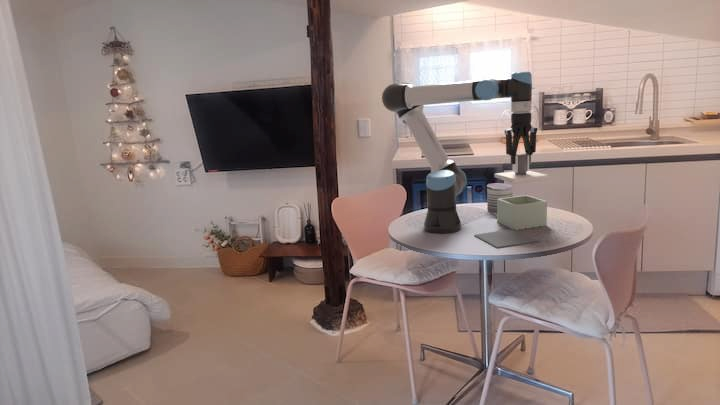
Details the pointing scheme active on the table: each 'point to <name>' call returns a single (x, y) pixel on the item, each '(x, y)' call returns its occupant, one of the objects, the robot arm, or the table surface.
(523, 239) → the mat
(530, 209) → the box
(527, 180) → the lid
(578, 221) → the table surface
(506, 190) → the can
